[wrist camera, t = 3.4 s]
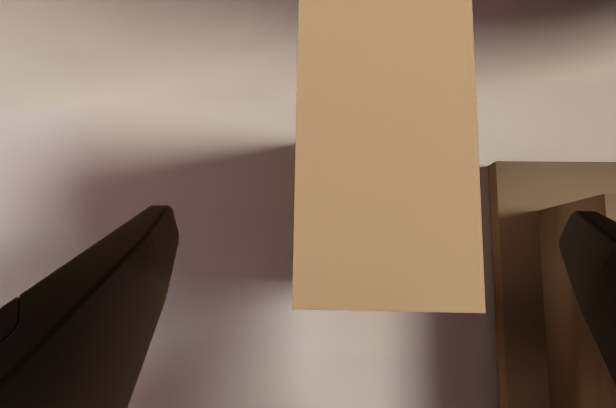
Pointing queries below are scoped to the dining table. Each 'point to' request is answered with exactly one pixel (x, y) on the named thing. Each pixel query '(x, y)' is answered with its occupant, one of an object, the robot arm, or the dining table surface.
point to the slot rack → (544, 284)
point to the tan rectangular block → (387, 158)
